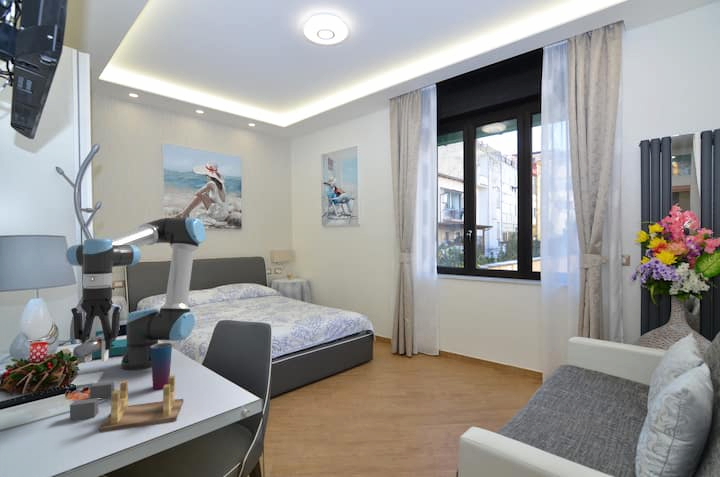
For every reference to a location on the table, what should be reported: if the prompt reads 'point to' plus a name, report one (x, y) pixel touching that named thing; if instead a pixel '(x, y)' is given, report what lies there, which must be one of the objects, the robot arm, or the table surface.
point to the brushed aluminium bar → (89, 347)
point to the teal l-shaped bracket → (116, 348)
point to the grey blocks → (91, 401)
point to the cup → (160, 364)
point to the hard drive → (87, 379)
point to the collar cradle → (142, 409)
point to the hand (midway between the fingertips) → (96, 360)
